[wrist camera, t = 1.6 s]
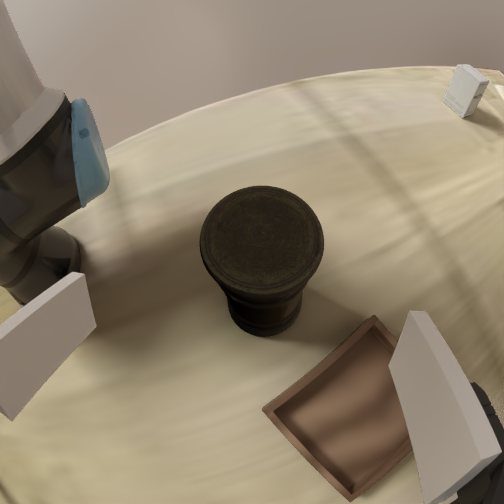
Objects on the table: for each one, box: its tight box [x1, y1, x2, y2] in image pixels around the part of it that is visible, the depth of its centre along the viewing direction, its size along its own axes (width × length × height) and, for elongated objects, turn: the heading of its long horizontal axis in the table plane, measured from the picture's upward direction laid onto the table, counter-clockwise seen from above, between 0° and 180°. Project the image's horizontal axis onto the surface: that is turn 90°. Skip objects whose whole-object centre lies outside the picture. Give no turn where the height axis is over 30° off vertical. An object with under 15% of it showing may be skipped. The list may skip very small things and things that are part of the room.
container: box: [200, 186, 324, 337], centre depth 27 cm, size 9×9×18 cm
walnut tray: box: [262, 315, 413, 502], centre depth 27 cm, size 17×17×3 cm
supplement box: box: [443, 64, 489, 118], centre depth 46 cm, size 7×7×13 cm
